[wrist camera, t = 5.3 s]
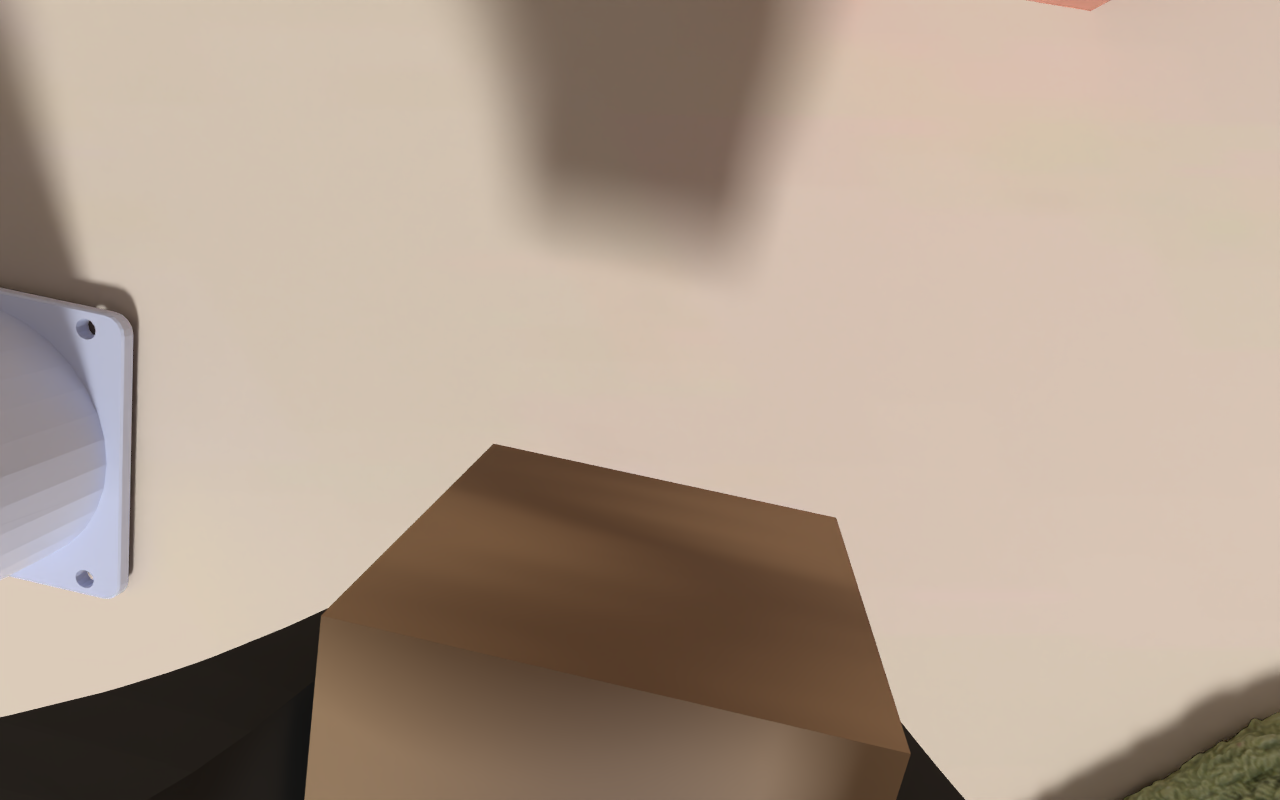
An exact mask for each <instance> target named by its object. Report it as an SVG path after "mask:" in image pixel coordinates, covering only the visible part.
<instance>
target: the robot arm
mask: <svg viewBox="0 0 1280 800" xmlns="http://www.w3.org/2000/svg"><path fill="white" fill-rule="evenodd" d="M89 321H91V322H92V323H93V325H94V326H95V330H96V332H95V335H93V334H92V333H91V332H90V330H89V326H88V323H89ZM132 375H133V330H132V326H131V324H130V323H129V321H128V320H127V319H126V318H125V317H124V316H123V315H122V314H119V313H117V312H114V311H109V310H104V309H100V308H95V307H90V306H86V305H81V304H76V303H71V302H67V301H62V300H57V299H52V298H48V297H43V296H38V295H34V294H29V293H24V292H19V291H15V290H10V289H5V288H0V580H2V579H4V578H6V577H8V576H10V577H14V578H18V579H23V580H27V581H31V582H35V583H39V584H44V585H48V586H52V587H56V588H61V589H65V590H69V591H73V592H78V593H82V594H86V595H90V596H94V597H99V598H103V599H110V598H113V597H115V596H117V595H118V594H120V593H122V592H123V591H124V590H125V589H126V588H127V585H128V575H129V525H130V475H131V425H132ZM87 572H89V573H90V574H91V575H92V576H93V580H92V579H91V578H90V577H89V576H88V573H87ZM327 609H328V608H327ZM327 609H325V610H323V611H321V612H319V613H317V614H314V615H312V616H310V617H308V618H306V619H303V620H301V621H299V622H297V623H295V624H293V625H290V626H288V627H286V628H283V629H281V630H278V631H276V632H274V633H271V634H269V635H266V636H264V637H261V638H259V639H256V640H254V641H251V642H249V643H246V644H244V645H241V646H239V647H237V648H234V649H232V650H229V651H227V652H224V653H222V654H219V655H217V656H214V657H212V658H209V659H206V660H203V661H201V662H198V663H195V664H192V665H189V666H186V667H184V668H181V669H178V670H175V671H172V672H169V673H166V674H162V675H159V676H156V677H153V678H150V679H146V680H143V681H140V682H137V683H134V684H130V685H127V686H124V687H120V688H117V689H113V690H110V691H106V692H103V693H99V694H95V695H91V696H87V697H83V698H79V699H74V700H70V701H66V702H62V703H58V704H54V705H50V706H46V707H42V708H38V709H34V710H30V711H26V712H21V713H17V714H13V715H9V716H5V717H0V800H304V799H305V788H306V777H307V766H308V755H309V744H310V733H311V721H312V710H313V699H314V688H315V677H316V666H317V655H318V644H319V633H320V622H321V615H322V614H323V613H324V612H325V611H326V610H327ZM901 725H902V728H903V731H904V734H905V737H906V740H907V744H908V747H909V750H910V753H911V755H910V758H909V761H908V764H907V767H906V770H905V773H904V776H903V780H902V783H901V786H900V789H899V792H898V795H897V798H896V800H965V799H964V798H963V797H962V795H961V794H960V793H959V792H958V791H957V790H956V788H955V787H954V786H953V785H952V784H951V783H950V781H949V780H948V779H947V778H946V777H945V776H944V774H943V773H942V772H941V771H940V770H939V768H938V767H937V766H936V765H935V764H934V762H933V761H932V760H931V759H930V758H929V756H928V755H927V754H926V753H925V751H924V750H923V749H922V748H921V747H920V745H919V744H918V743H917V742H916V740H915V739H914V738H913V737H912V735H911V734H910V733H909V732H908V730H907V729H906V728H905V727H904V725H903V724H902V723H901Z"/></svg>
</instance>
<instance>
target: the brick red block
mask: <svg viewBox="0 0 1280 800" xmlns="http://www.w3.org/2000/svg"><path fill="white" fill-rule="evenodd" d="M1028 1H1034V2H1040V3H1046V4H1052V5H1058V6H1064V7H1070V8H1076V9H1082V10H1088V11H1091V10H1093V9H1095V8H1097V7H1099V6H1101V5H1102V4H1104V3H1106V2H1108V1H1110V0H1028Z"/></svg>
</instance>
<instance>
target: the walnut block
mask: <svg viewBox="0 0 1280 800" xmlns="http://www.w3.org/2000/svg"><path fill="white" fill-rule="evenodd" d="M910 755H911V753H910V750H909V747H908V744H907V740H906V737H905V734H904V731H903V728H902V725H901V721H900V718H899V715H898V712H897V709H896V706H895V703H894V699H893V696H892V693H891V690H890V687H889V684H888V680H887V677H886V674H885V671H884V668H883V665H882V661H881V658H880V655H879V652H878V649H877V646H876V642H875V639H874V636H873V633H872V630H871V627H870V624H869V620H868V617H867V614H866V611H865V608H864V605H863V601H862V598H861V595H860V592H859V589H858V586H857V582H856V579H855V576H854V573H853V570H852V567H851V563H850V560H849V557H848V554H847V551H846V548H845V545H844V541H843V538H842V535H841V532H840V529H839V526H838V522H837V519H836V518H834V517H830V516H825V515H820V514H816V513H811V512H807V511H802V510H797V509H793V508H788V507H783V506H779V505H774V504H770V503H765V502H760V501H756V500H751V499H746V498H742V497H737V496H733V495H728V494H723V493H719V492H714V491H709V490H705V489H700V488H696V487H691V486H686V485H682V484H677V483H672V482H668V481H663V480H659V479H654V478H649V477H645V476H640V475H636V474H631V473H626V472H622V471H617V470H612V469H608V468H603V467H599V466H594V465H589V464H585V463H580V462H575V461H571V460H566V459H562V458H557V457H552V456H548V455H543V454H538V453H534V452H529V451H525V450H520V449H515V448H511V447H506V446H501V445H497V444H493V445H492V446H491V447H490V448H489V449H488V450H487V451H486V452H485V453H484V454H483V455H482V456H481V457H480V458H479V459H478V460H477V461H476V462H475V463H474V464H473V465H472V466H471V467H470V468H469V469H468V470H467V471H466V472H465V473H464V474H463V475H462V476H461V477H460V478H459V479H458V480H457V481H456V482H455V483H454V484H453V485H452V486H451V487H450V488H449V489H448V490H447V491H446V492H445V493H444V494H443V495H442V496H441V497H440V498H439V499H438V500H437V501H436V502H435V503H434V504H433V505H432V506H431V507H430V508H429V509H428V510H427V511H426V512H425V513H424V514H423V515H422V516H421V517H420V518H419V519H418V520H417V521H416V522H415V523H414V524H412V525H411V526H410V527H409V528H408V529H407V530H406V531H405V532H404V533H403V534H402V535H401V536H400V537H399V538H398V539H397V540H396V541H395V542H394V543H393V544H392V545H391V546H390V547H389V548H388V549H387V550H386V551H385V552H384V553H383V554H382V555H381V556H380V557H379V558H378V559H377V560H376V561H375V562H374V563H373V564H372V565H371V566H370V567H369V568H368V569H367V570H366V571H365V572H364V573H363V574H362V575H361V576H360V577H359V578H358V579H357V580H356V581H355V582H354V583H353V584H352V585H351V586H350V587H349V588H348V589H347V590H346V591H345V592H344V593H343V594H342V595H341V596H340V597H339V598H338V599H337V600H336V601H335V602H334V603H333V604H332V605H331V606H330V607H329V608H328V609H327V610H326V611H325V612H324V613H323V614H322V615H321V622H320V633H319V644H318V655H317V666H316V677H315V688H314V699H313V710H312V721H311V733H310V744H309V755H308V766H307V777H306V788H305V799H304V800H896V798H897V795H898V792H899V789H900V786H901V783H902V780H903V776H904V773H905V770H906V767H907V764H908V761H909V758H910Z"/></svg>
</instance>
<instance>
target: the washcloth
mask: <svg viewBox="0 0 1280 800" xmlns="http://www.w3.org/2000/svg"><path fill="white" fill-rule="evenodd" d="M1123 800H1280V712H1278V713H1275V714H1273V715H1271V716H1270V717H1268V718H1266V719H1264V720H1262V721H1261V720H1258V719H1256V718H1255V719H1252V720H1251V722H1250V724H1249V726H1248V727H1247V728H1245V729H1243V730H1241V731H1240V732H1239V734H1237V735H1236V736H1235V737H1233V738H1232V739H1230V740H1229V741H1228V742H1223V741H1222V742H1219V743H1218V744H1217V745H1216V746H1215V747H1213V748H1211V749H1209V750H1208V751H1206V752H1205V753H1199V754H1197V755H1196V756H1194V757H1193V758H1192V759H1190V760H1189V761H1188V762H1186V763H1185V764H1183V765H1182V766H1181V768H1180V770H1178V771H1175V772H1173V773H1172V774H1170V775H1169V776H1168V777H1167V778H1165V779H1163V780H1158V781H1155V782H1154V783H1153V784H1152V786H1148V787H1144V788H1143V789H1142V790H1141V791H1139V792H1137V793H1135V794H1133V795H1130V796H1127V797H1126V798H1124V799H1123Z"/></svg>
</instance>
